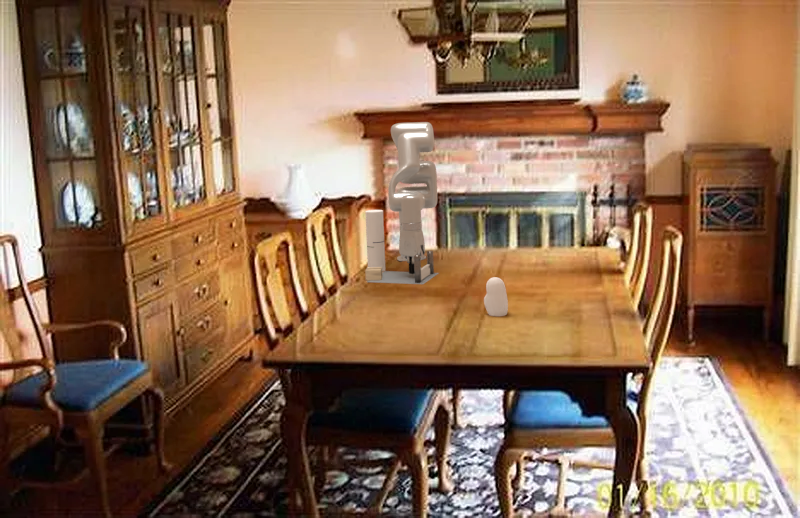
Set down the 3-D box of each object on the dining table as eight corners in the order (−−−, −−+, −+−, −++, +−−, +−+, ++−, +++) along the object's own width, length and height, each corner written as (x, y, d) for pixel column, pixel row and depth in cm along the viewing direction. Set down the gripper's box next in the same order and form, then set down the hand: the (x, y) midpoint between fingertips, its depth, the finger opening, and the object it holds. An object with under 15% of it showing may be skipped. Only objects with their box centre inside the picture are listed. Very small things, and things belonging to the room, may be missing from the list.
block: (367, 277, 362) (366, 267, 361) (382, 276, 361) (382, 266, 360) (365, 280, 356) (365, 270, 355) (381, 280, 355) (380, 270, 355)
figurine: (501, 309, 305) (500, 274, 302) (512, 314, 298) (511, 278, 295) (482, 312, 302) (481, 276, 300) (492, 317, 295) (491, 281, 293)
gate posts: (428, 272, 365) (427, 246, 363) (434, 273, 364) (434, 246, 362) (413, 282, 348) (412, 255, 346) (420, 283, 347) (419, 255, 345)
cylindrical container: (385, 273, 371) (382, 211, 366) (367, 273, 371) (364, 212, 367) (385, 269, 378) (383, 209, 373) (368, 270, 378) (365, 210, 374)
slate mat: (385, 272, 372) (385, 271, 372) (439, 274, 365) (439, 272, 365) (366, 283, 353) (366, 282, 353) (423, 285, 345) (423, 284, 345)
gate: (426, 273, 362) (426, 262, 361) (430, 274, 361) (430, 262, 360) (417, 280, 351) (417, 268, 350) (421, 280, 350) (420, 268, 349)
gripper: (391, 226, 358) (392, 272, 361) (419, 229, 347) (420, 277, 351) (404, 224, 363) (406, 269, 366) (432, 227, 353) (434, 273, 356)
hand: (413, 273), depth 359 cm, fingers closed
